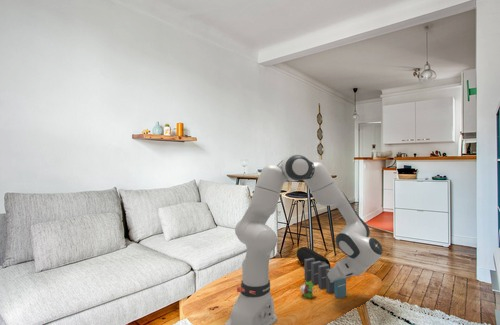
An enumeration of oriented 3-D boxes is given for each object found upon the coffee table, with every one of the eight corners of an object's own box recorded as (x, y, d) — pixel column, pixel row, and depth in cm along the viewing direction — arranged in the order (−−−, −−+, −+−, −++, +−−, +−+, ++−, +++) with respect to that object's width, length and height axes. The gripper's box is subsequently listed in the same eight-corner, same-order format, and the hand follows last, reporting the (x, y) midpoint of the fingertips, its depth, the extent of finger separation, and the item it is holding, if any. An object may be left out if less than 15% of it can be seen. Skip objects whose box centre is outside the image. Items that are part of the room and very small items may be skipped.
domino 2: (322, 282, 148) (321, 261, 148) (314, 285, 145) (313, 263, 145) (319, 281, 149) (319, 260, 150) (311, 283, 147) (310, 262, 147)
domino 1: (315, 279, 153) (314, 258, 153) (307, 281, 150) (306, 260, 150) (312, 277, 154) (312, 257, 154) (304, 280, 152) (304, 259, 152)
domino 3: (329, 286, 143) (329, 265, 143) (321, 289, 140) (320, 267, 140) (327, 285, 145) (326, 263, 145) (318, 287, 142) (318, 265, 142)
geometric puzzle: (307, 285, 140) (302, 276, 136) (320, 289, 135) (315, 279, 131) (301, 299, 135) (296, 289, 132) (314, 303, 131) (309, 293, 127)
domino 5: (346, 295, 133) (346, 272, 133) (337, 298, 130) (337, 274, 130) (343, 293, 135) (342, 270, 135) (334, 296, 132) (334, 273, 132)
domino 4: (337, 291, 138) (337, 268, 138) (329, 293, 135) (328, 270, 135) (334, 289, 140) (334, 267, 140) (326, 292, 137) (325, 269, 137)
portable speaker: (295, 262, 179) (295, 246, 179) (309, 260, 182) (309, 244, 182) (316, 277, 155) (316, 259, 155) (332, 275, 158) (331, 257, 158)
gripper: (367, 254, 131) (351, 268, 140) (334, 262, 122) (319, 276, 131) (375, 266, 128) (358, 280, 136) (342, 276, 118) (326, 290, 127)
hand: (339, 278), depth 133 cm, fingers open, 8 cm apart
